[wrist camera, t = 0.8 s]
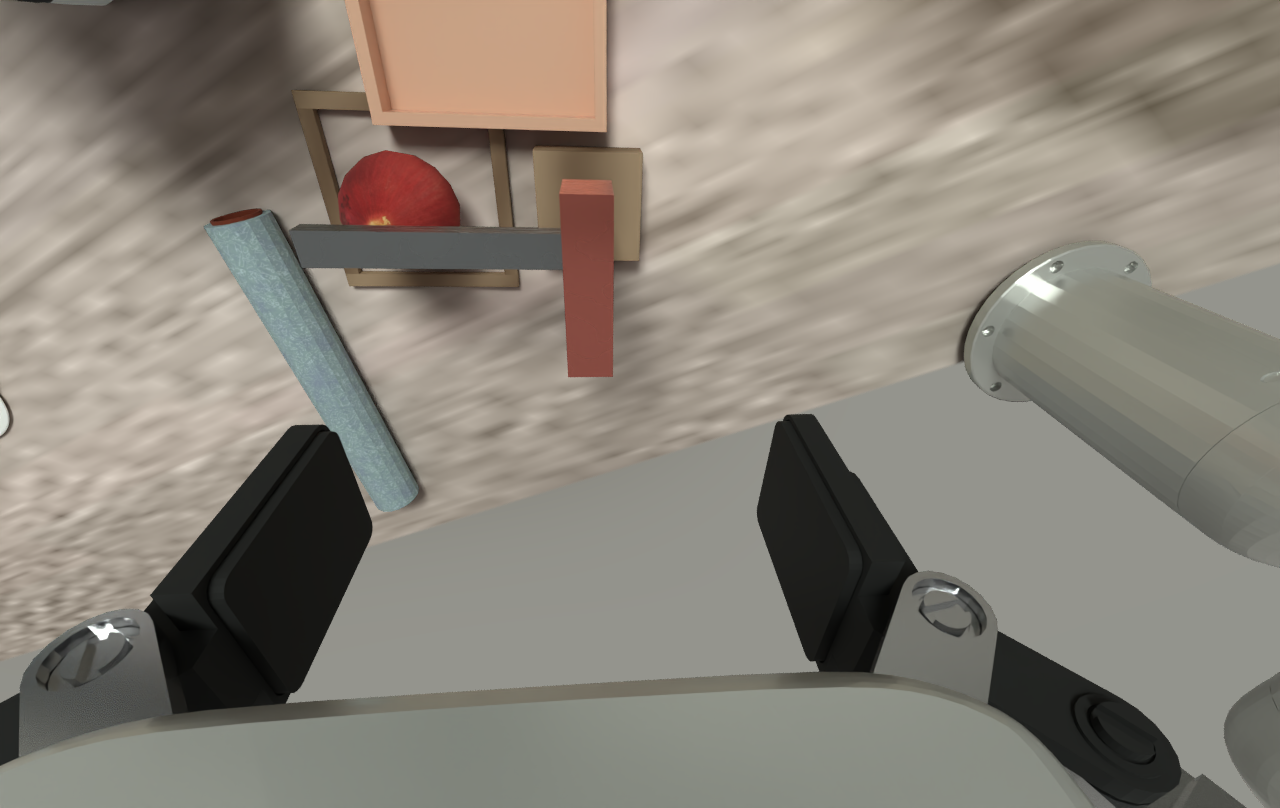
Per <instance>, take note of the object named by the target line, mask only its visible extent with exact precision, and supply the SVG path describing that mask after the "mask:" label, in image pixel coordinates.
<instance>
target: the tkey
mask: <svg viewBox="0 0 1280 808" xmlns="http://www.w3.org/2000/svg"><path fill="white" fill-rule="evenodd" d="M559 202H560V222H561V228H533V227H464V226H395V225H326V224H299V225H298V226H296V227H294V228H292V229H291V230H289V232H290V235H291V238H292V241H293V244H294V247H295V250H296V253H297V255H298V258H299V261H300V264H301V267H302V268H386V269H523V270H563V281H564V301H565V321H566V341H567V360H568V377H613V275H614V192H613V186H612V181H611V180H579V179H562V184H561V188H560V192H559Z"/></svg>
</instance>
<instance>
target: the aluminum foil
mask: <svg viewBox="0 0 1280 808" xmlns="http://www.w3.org/2000/svg"><path fill="white" fill-rule="evenodd" d="M204 229H205V230H206V232H207V233H208V235H209V237H210V238H211V240H212V241H213V243H214V245H215V246H216V248H217V250H218V251H219V253H220V254H221V256H222V258H223V259H224V261H225V262H226V264H227V266H228V267H229V269H230V271H231V272H232V274H233V275H234V277H235V279H236V280H237V282H238V283H239V285H240V287H241V288H242V290H243V292H244V293H245V295H246V296H247V298H248V300H249V301H250V303H251V304H252V306H253V308H254V309H255V311H256V313H257V314H258V316H259V317H260V319H261V321H262V322H263V324H264V325H265V327H266V329H267V330H268V332H269V334H270V335H271V337H272V338H273V340H274V342H275V343H276V345H277V346H278V348H279V350H280V351H281V353H282V355H283V356H284V358H285V359H286V361H287V363H288V364H289V366H290V367H291V369H292V371H293V372H294V374H295V376H296V377H297V379H298V380H299V382H300V384H301V385H302V387H303V388H304V390H305V392H306V393H307V395H308V397H309V398H310V400H311V401H312V403H313V405H314V406H315V408H316V409H317V411H318V413H319V414H320V416H321V417H322V419H323V421H324V422H325V424H326V426H327V427H328V428H329V429H330V431H334V432H336V433H337V434H338V435H339V437H340V440H341V442H342V445H343V448H344V450H345V453H346V455H347V458H348V461H349V463H350V464H351V466H352V468H353V469H354V471H355V472H356V474H357V476H358V477H359V479H360V480H361V482H362V484H363V485H364V487H365V489H366V490H367V492H368V493H369V495H370V497H371V498H372V500H373V501H374V503H375V505H376V506H377V508H378V509H379V510H381V511H383V512H386V511H394V510H398V509H400V508H402V507H404V506H406V505H408V504H409V503H410V502H411V501H412V500H414V499H415V497H416V496H417V494H418V490H419V487H418V485H417V483H416V481H415V479H414V478H413V476H412V474H411V472H410V470H409V468H408V466H407V465H406V463H405V461H404V459H403V457H402V455H401V453H400V451H399V450H398V448H397V446H396V444H395V442H394V440H393V438H392V437H391V435H390V433H389V431H388V429H387V427H386V425H385V423H384V422H383V420H382V418H381V416H380V414H379V412H378V410H377V408H376V407H375V405H374V403H373V401H372V399H371V397H370V395H369V394H368V392H367V390H366V388H365V386H364V384H363V382H362V380H361V379H360V377H359V375H358V373H357V371H356V369H355V367H354V366H353V364H352V362H351V360H350V358H349V356H348V354H347V352H346V351H345V349H344V347H343V345H342V343H341V341H340V339H339V337H338V336H337V334H336V332H335V330H334V328H333V326H332V324H331V323H330V321H329V319H328V317H327V315H326V313H325V311H324V309H323V308H322V306H321V304H320V302H319V300H318V298H317V296H316V295H315V293H314V291H313V289H312V287H311V285H310V283H309V281H308V280H307V278H306V276H305V274H304V272H303V270H302V268H301V266H300V265H299V263H298V261H297V259H296V257H295V255H294V253H293V252H292V250H291V248H290V246H289V244H288V242H287V240H286V238H285V237H284V235H283V233H282V231H281V229H280V227H279V225H278V224H277V222H276V220H275V218H274V216H273V214H272V212H271V211H270V210H266V211H262V210H261V209H250V210H244V211H239V212H235V213H231V214H227V215H224V216H220V217H217V218H215V219H212V220H211V221H210V223H209V224H207V225H205V226H204Z"/></svg>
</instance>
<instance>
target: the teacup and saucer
mask: <svg viewBox="0 0 1280 808" xmlns="http://www.w3.org/2000/svg"><path fill="white" fill-rule="evenodd" d="M8 426H9V413H8V410H7V407H6V405H5V403H4V402H3V400H2V399H1V397H0V436H1V435H2V434H4V433H5V431H6V430H7V428H8Z"/></svg>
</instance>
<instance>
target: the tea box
mask: <svg viewBox="0 0 1280 808" xmlns="http://www.w3.org/2000/svg"><path fill="white" fill-rule="evenodd" d="M17 1H25V2H35V3H40V2H45V3H56V4H71V5H100V6H105V5H107V4H109V3H110V2H111V1H113V0H17Z"/></svg>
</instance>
